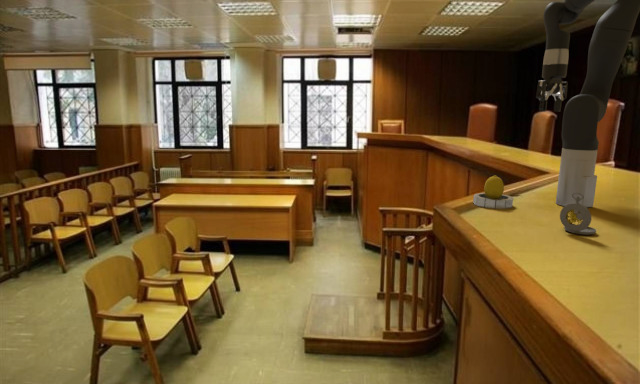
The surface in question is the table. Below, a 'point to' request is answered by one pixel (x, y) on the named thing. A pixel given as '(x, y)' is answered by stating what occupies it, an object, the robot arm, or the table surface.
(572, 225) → the pocket watch
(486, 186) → the lemon
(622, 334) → the table surface
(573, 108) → the robot arm
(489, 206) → the grey stone ring
